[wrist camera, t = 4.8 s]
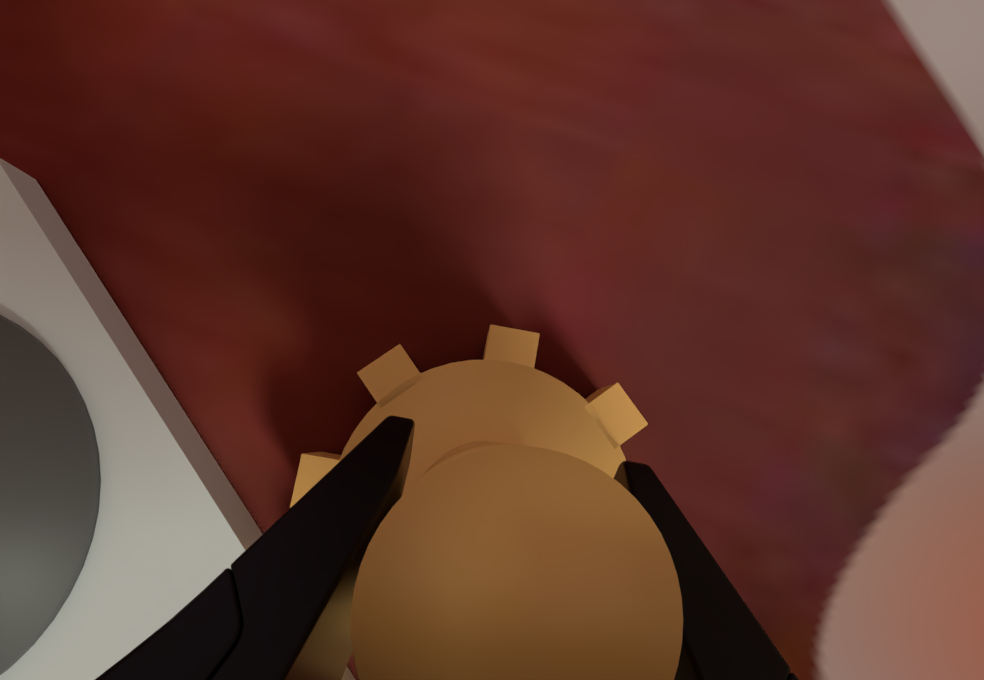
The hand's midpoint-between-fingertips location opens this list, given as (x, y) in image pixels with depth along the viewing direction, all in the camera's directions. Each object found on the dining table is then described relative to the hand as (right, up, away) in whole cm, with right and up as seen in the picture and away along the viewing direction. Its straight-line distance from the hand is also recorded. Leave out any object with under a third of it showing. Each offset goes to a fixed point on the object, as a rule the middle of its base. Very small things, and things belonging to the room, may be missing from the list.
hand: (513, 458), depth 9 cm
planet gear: (-1, -2, +6) cm, 7 cm away
